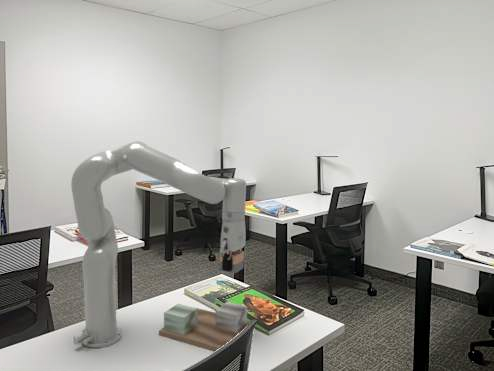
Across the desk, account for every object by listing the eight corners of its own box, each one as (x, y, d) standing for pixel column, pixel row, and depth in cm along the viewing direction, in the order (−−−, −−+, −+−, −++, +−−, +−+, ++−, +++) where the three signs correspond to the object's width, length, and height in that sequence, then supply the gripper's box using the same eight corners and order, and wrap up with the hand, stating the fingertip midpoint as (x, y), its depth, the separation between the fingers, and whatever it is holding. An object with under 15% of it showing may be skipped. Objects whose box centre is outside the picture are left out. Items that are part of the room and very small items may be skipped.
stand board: (221, 353, 130) (222, 330, 129) (158, 334, 141) (158, 313, 140) (251, 325, 149) (251, 305, 148) (193, 311, 160) (193, 292, 159)
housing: (235, 273, 139) (236, 252, 138) (219, 270, 142) (220, 249, 141) (243, 268, 145) (244, 248, 144) (227, 265, 147) (228, 245, 146)
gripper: (231, 221, 132) (229, 277, 134) (254, 213, 147) (252, 263, 149) (210, 218, 135) (208, 273, 137) (235, 210, 150) (233, 259, 153)
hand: (231, 267), depth 143 cm, fingers closed on housing, 6 cm apart
